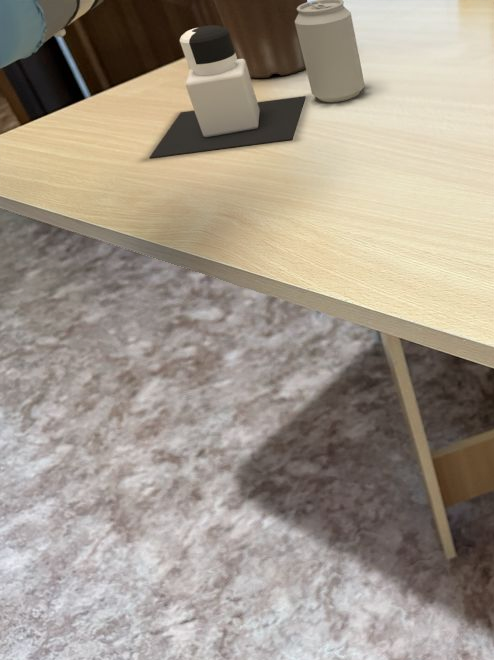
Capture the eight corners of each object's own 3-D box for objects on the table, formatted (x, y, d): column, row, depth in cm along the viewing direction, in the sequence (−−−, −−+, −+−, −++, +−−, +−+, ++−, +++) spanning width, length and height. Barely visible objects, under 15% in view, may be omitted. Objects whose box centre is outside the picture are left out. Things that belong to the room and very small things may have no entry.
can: (335, 107, 94) (314, 12, 86) (302, 99, 98) (279, 7, 91) (376, 90, 98) (359, -2, 90) (343, 82, 102) (324, -7, 95)
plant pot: (349, 53, 114) (326, -59, 104) (287, 86, 103) (255, -34, 93) (273, 49, 121) (245, -56, 111) (208, 80, 110) (171, -33, 100)
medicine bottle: (260, 111, 96) (233, 18, 88) (259, 129, 90) (229, 31, 82) (208, 120, 95) (176, 27, 87) (203, 138, 89) (169, 41, 82)
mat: (149, 158, 86) (149, 157, 86) (181, 113, 99) (180, 112, 99) (292, 139, 86) (291, 138, 86) (305, 97, 99) (305, 96, 99)
